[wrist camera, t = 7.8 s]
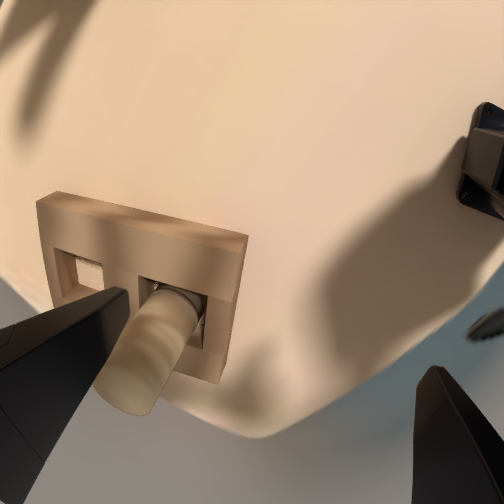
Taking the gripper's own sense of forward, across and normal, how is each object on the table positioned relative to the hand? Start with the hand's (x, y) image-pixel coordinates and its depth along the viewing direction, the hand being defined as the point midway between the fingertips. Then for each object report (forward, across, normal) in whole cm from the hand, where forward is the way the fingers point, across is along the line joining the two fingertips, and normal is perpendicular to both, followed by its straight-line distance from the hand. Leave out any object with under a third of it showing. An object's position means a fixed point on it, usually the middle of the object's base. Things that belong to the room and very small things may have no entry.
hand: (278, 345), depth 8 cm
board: (+12, +11, +9) cm, 18 cm away
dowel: (+12, +7, +9) cm, 16 cm away
